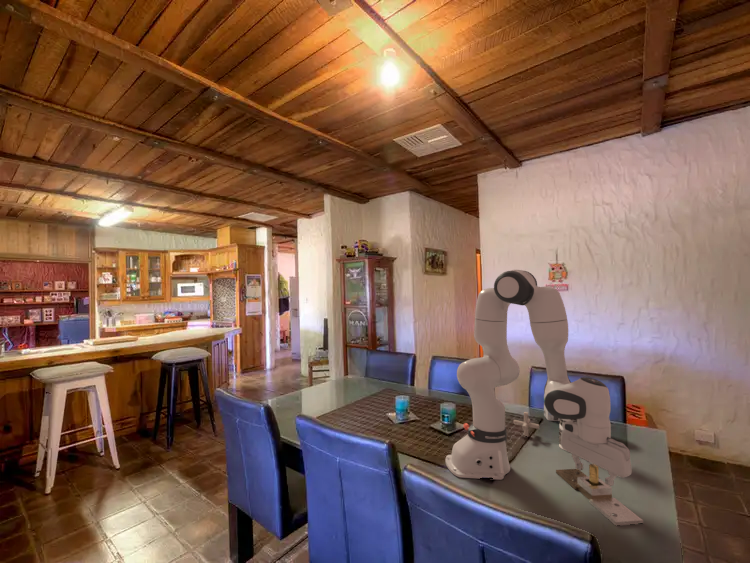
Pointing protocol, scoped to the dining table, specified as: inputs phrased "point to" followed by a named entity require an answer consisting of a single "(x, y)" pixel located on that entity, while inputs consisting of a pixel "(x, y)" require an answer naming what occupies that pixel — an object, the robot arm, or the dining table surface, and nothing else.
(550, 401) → the robot arm
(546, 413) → the light bulb box
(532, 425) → the pipe connector
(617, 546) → the dining table surface
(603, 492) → the hinge
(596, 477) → the brass pin
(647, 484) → the dining table surface
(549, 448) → the dining table surface
